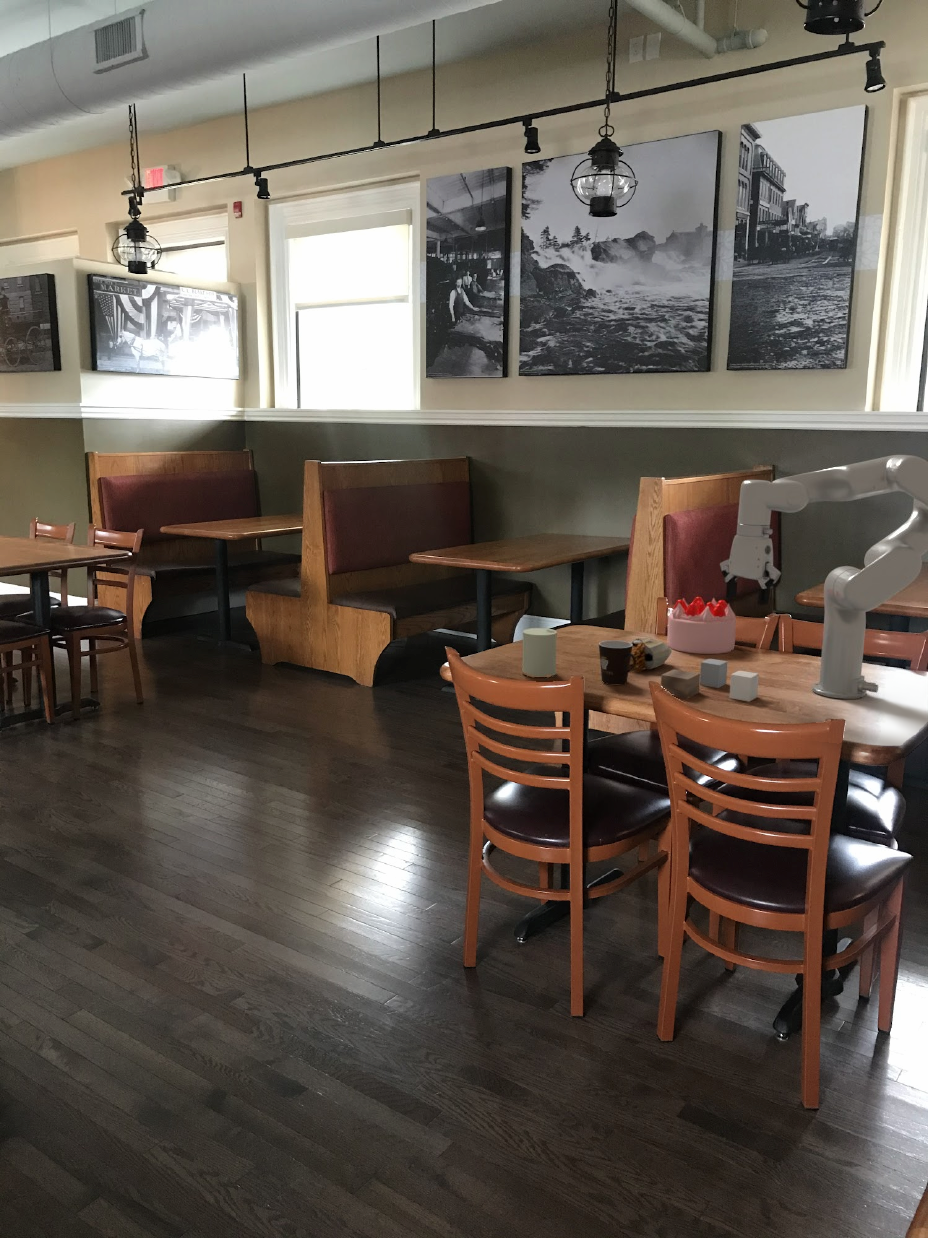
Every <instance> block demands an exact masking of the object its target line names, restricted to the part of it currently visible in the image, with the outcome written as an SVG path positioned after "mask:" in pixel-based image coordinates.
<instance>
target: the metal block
mask: <svg viewBox="0 0 928 1238" xmlns="http://www.w3.org/2000/svg"><path fill="white" fill-rule="evenodd" d="M660 680H661V681H660V686H661V685H662V686H663V688H665V689H667V691H669V692H670V693H671V694H674V695H675V696H674V697H676V696H677V697H676V698H682V699H689V698H691V697H693V696H694V695H697V694H699V693H700V672H698V673H697V672H691V671H688V670H687V671H686V670H680V669H675V668H674V669H671V670H670V671H666V672H665V673H663V674H661V676H660Z"/></svg>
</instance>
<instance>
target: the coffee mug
mask: <svg viewBox="0 0 928 1238" xmlns="http://www.w3.org/2000/svg"><path fill="white" fill-rule="evenodd" d="M629 642H630V641H626V640H625V641H624V640H602V641H600V642H598V650H599V663H600V673H601V674H600V675H601V682H602V681H603V682H604V683H603V682H602V683H603V684H605V683H608V684H607V685H609V684H623V685H626V684H627V683H628V677H629V673H631V672H632V670H634V669H633V668H634V667H636V666H635V665H636V659H635V657H634V655H633V654H631V652H632V646H633V644H631V643H629ZM631 657H632V658H633V664H632V665H631V667H630V659H631ZM628 672H629V673H628ZM625 683H626V684H625Z"/></svg>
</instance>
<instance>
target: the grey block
mask: <svg viewBox="0 0 928 1238" xmlns="http://www.w3.org/2000/svg"><path fill="white" fill-rule="evenodd" d="M728 663H729V662H728V661H727V660H721V659H714V658H707V659H705V660H703V661H701V662H700V672H699V674H700V683H699V686H704V687H705V686H706V687H709V688H717V689H719V688H722V687H723V686H725V685H727V676H728V674H727V673H728Z"/></svg>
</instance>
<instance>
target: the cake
mask: <svg viewBox="0 0 928 1238" xmlns="http://www.w3.org/2000/svg"><path fill="white" fill-rule="evenodd" d="M672 608H673V609H672V610H671V613H670V614H669V615H668V619H667V620H668V621H667V637H666V638H667V641H666V642H667V643H666V645H667V646H668V647H669V648H670V649H671V650H675V651H679V652H682V653H688V654H699V655H717V654H718V655H719V654H724V653H725V654H727V653H730V652H732V651H733V650H734V648H735V643H736V626H737V625H736V624H737V619H736V614H735V612H734V611H733V610H732V608H731V606H730V603H727V602H726V600H724V599H719V600H718V601H717V600H716V599H715V598H714V597H713V598H712V600H711V601H709V602H707V603H706V604H705V602H704V600H703V598H702V597H701V596H697V597H695V598H694V600H692V603H690V604H688V603H687V601H686V599H685V597H682V599H678V600H677V601H676V602H675V604H674V605H673V607H672ZM731 650H732V651H731Z"/></svg>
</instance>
